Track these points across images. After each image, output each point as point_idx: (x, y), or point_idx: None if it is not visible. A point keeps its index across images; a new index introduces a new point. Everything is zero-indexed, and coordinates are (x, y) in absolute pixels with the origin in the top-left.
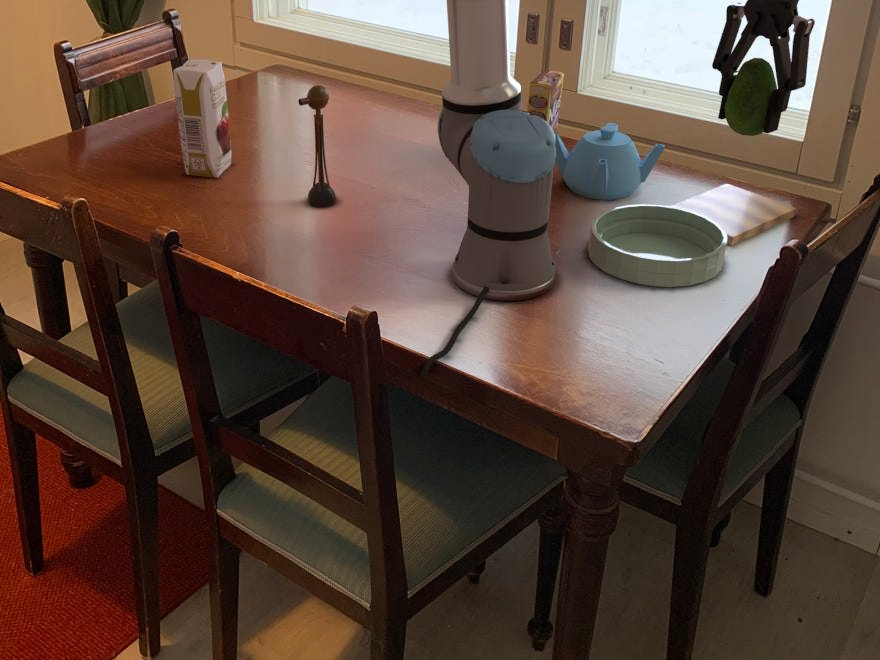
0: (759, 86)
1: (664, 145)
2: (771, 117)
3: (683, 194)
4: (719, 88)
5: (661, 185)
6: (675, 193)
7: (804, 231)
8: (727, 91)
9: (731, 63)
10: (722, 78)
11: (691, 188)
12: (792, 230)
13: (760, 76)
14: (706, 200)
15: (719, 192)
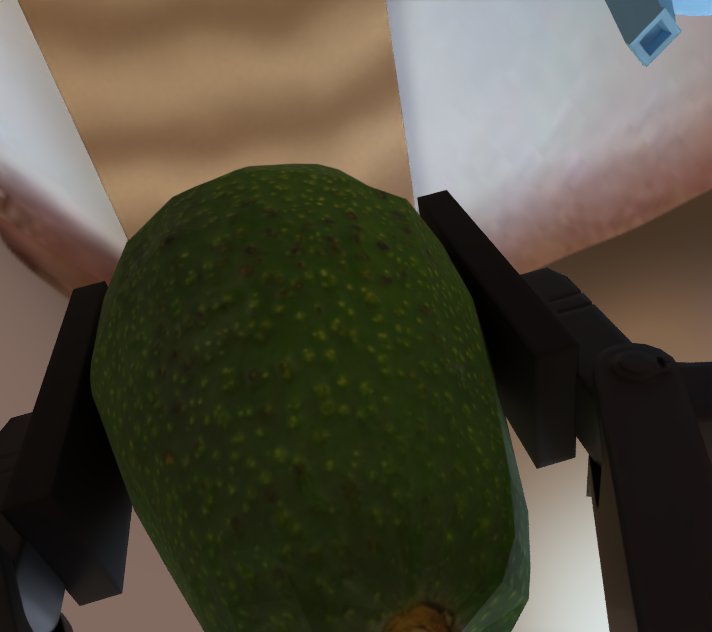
0: (155, 445)
1: (642, 60)
2: (53, 356)
3: (469, 100)
4: (579, 289)
5: (564, 81)
6: (490, 80)
7: (54, 266)
8: (487, 295)
9: (632, 464)
10: (617, 342)
11: (488, 160)
12: (72, 238)
13: (192, 532)
14: (345, 93)
15: (376, 183)
